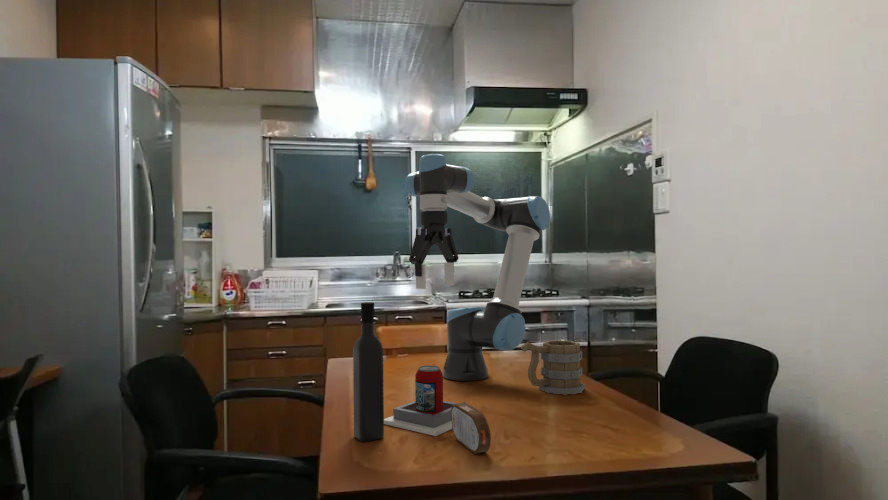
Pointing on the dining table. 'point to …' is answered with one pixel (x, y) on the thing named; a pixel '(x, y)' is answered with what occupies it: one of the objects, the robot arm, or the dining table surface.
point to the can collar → (421, 419)
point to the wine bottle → (368, 380)
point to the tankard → (556, 367)
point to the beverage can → (429, 390)
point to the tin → (470, 427)
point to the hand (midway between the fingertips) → (435, 287)
